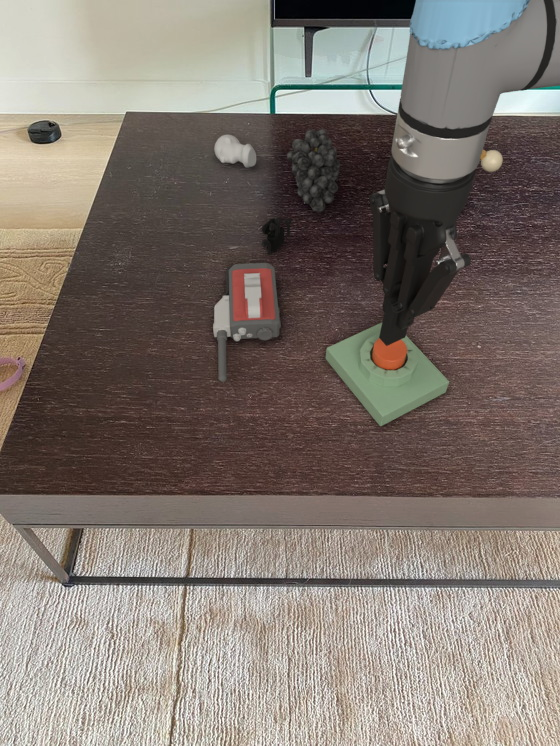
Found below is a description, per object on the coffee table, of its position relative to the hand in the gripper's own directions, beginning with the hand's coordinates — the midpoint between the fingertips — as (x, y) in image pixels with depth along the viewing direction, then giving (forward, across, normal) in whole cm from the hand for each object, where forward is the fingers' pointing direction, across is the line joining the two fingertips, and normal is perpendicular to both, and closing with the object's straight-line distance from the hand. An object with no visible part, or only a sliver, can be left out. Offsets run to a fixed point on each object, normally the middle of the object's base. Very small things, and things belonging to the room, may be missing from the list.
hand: (392, 337), depth 72 cm
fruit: (+8, -36, +12) cm, 39 cm away
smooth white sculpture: (+8, -50, +5) cm, 51 cm away
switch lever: (0, -25, +32) cm, 41 cm away
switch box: (+7, 0, 0) cm, 7 cm away
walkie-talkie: (+8, -16, -11) cm, 21 cm away
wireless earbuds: (+8, -28, 0) cm, 29 cm away
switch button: (+4, 0, 0) cm, 4 cm away
